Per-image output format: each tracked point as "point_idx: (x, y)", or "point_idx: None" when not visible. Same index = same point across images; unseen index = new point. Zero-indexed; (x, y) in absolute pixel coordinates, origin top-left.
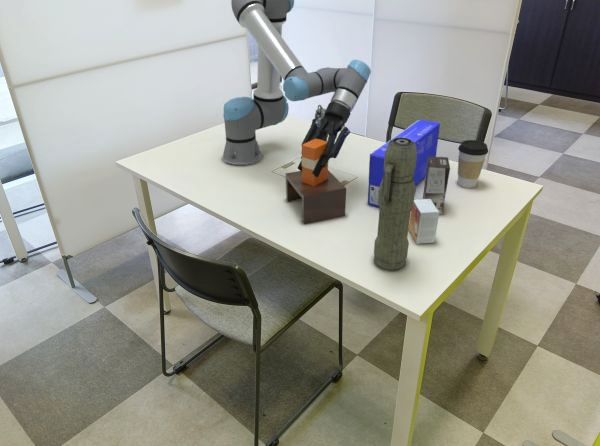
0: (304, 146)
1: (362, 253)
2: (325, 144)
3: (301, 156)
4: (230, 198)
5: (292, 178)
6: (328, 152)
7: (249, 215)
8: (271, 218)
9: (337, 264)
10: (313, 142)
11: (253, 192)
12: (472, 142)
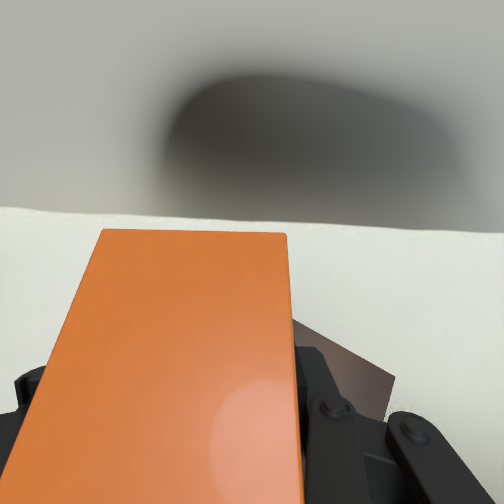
0: (244, 235)
1: (5, 285)
2: (5, 487)
3: (323, 358)
4: (463, 290)
5: (323, 348)
6: (8, 429)
7: (344, 257)
8: (291, 277)
9: (57, 226)
10: (213, 385)
11: (466, 363)
12: None
